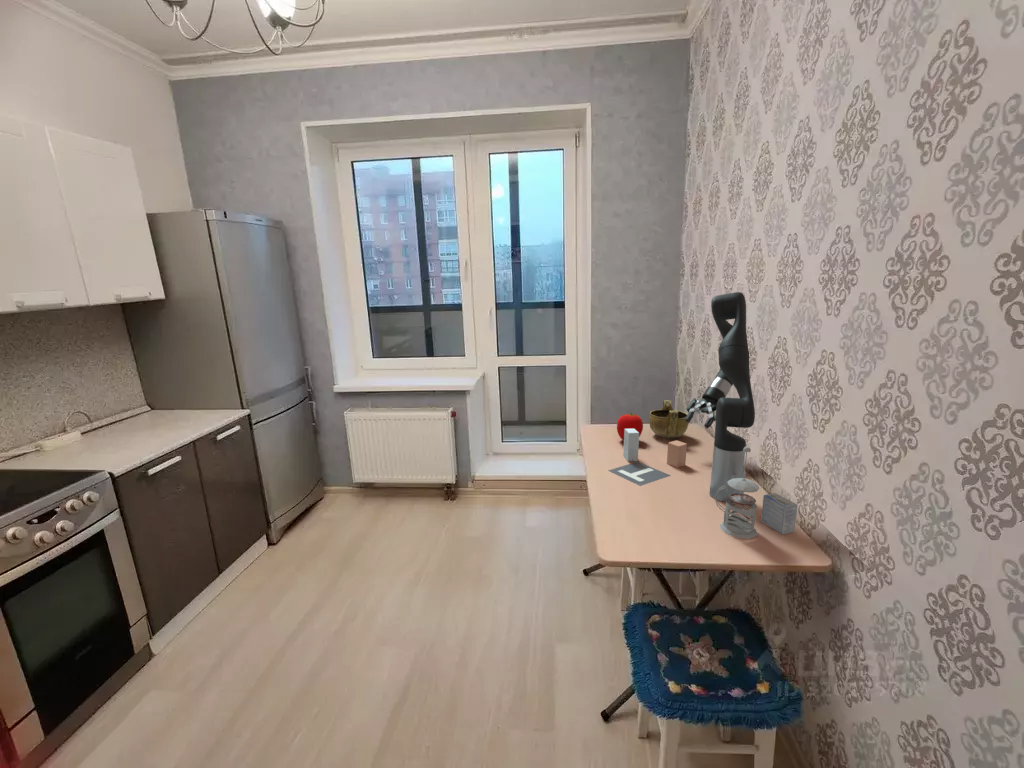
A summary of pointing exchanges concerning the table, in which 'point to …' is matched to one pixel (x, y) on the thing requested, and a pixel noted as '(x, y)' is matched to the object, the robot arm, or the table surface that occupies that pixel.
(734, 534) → the french press
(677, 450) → the peach block
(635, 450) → the skincare box
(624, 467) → the letter card
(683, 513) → the table surface
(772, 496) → the medicine box
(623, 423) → the red apple
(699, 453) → the table surface
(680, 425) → the ceramic bowl
